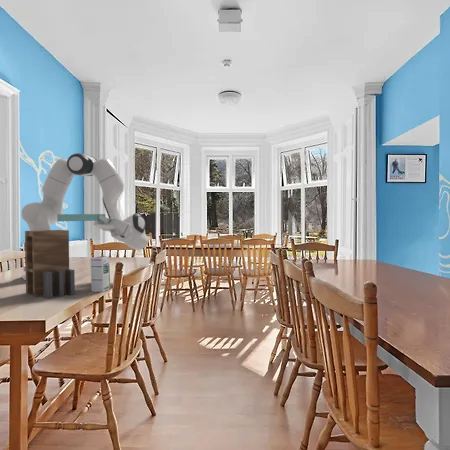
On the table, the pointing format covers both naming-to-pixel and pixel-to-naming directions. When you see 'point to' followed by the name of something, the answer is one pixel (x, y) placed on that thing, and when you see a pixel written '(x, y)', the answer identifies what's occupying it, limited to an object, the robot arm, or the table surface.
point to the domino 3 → (70, 281)
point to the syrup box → (100, 274)
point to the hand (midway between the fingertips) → (96, 216)
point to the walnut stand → (45, 257)
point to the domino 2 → (59, 283)
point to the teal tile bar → (78, 217)
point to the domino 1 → (47, 284)
